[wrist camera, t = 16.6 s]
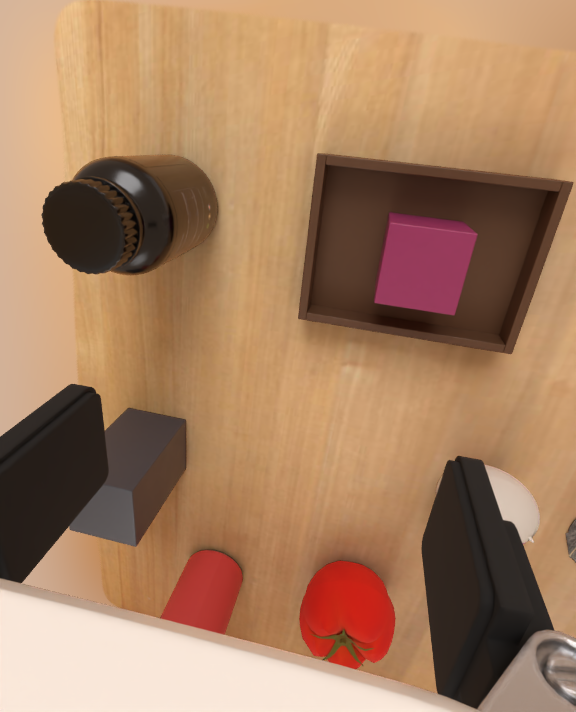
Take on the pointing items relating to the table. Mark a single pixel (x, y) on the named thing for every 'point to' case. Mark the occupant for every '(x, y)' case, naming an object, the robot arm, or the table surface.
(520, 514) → the figurine
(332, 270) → the tray
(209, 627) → the beer can
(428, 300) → the top block
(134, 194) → the supplement bottle
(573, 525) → the sculpture
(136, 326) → the table surface
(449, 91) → the table surface
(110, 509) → the bottom block
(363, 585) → the tomato
